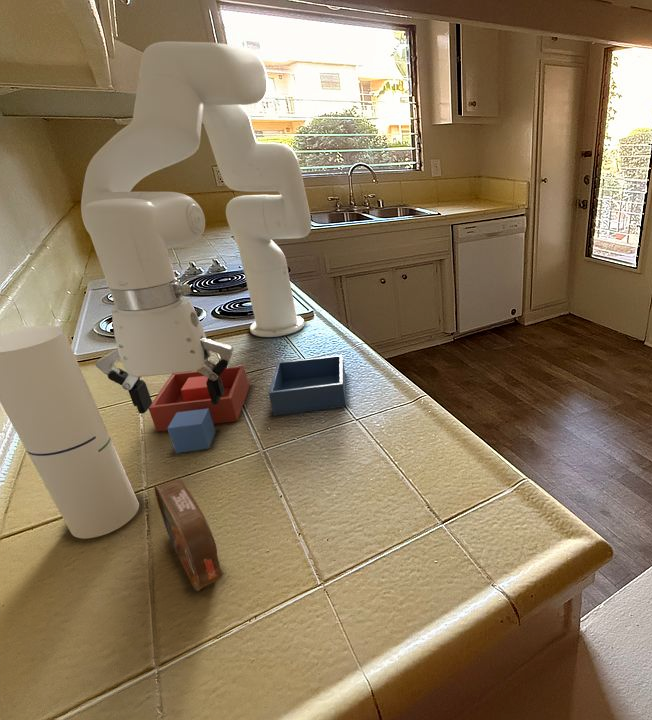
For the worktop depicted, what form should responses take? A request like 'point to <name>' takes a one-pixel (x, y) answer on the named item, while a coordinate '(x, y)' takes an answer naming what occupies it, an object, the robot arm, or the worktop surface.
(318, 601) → the worktop surface
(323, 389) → the blue bin
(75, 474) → the cylindrical container
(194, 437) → the blue block
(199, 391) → the red block
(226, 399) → the red bin
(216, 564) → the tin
